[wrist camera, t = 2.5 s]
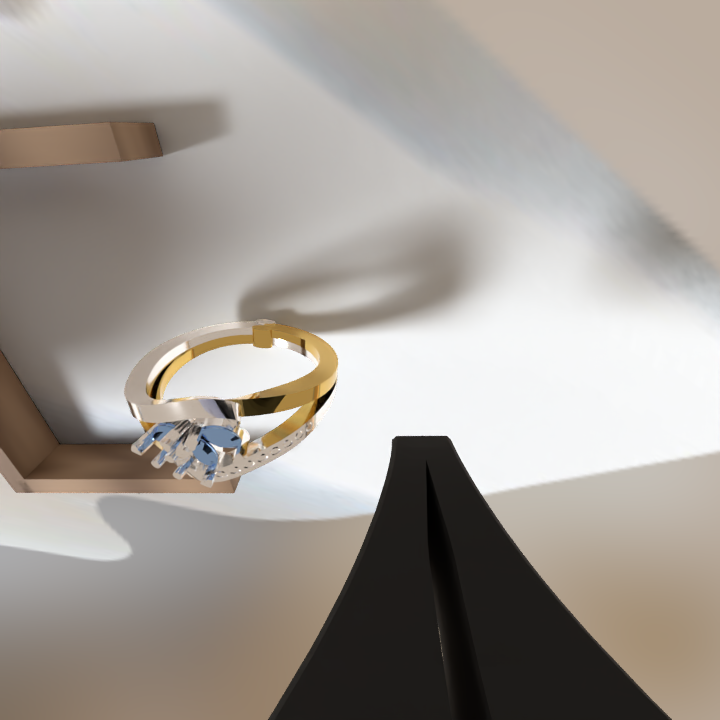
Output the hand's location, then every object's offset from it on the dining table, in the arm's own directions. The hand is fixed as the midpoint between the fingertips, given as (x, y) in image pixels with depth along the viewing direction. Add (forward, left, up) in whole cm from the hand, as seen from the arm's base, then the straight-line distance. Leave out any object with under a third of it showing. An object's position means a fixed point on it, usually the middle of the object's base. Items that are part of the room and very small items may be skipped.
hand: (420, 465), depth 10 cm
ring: (-6, 0, -8) cm, 10 cm away
